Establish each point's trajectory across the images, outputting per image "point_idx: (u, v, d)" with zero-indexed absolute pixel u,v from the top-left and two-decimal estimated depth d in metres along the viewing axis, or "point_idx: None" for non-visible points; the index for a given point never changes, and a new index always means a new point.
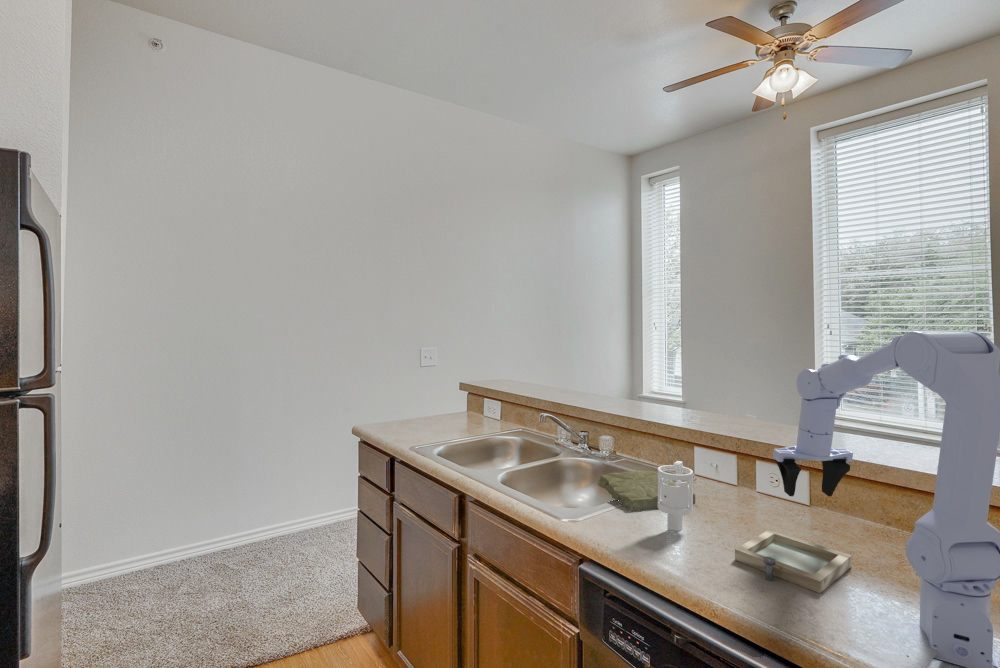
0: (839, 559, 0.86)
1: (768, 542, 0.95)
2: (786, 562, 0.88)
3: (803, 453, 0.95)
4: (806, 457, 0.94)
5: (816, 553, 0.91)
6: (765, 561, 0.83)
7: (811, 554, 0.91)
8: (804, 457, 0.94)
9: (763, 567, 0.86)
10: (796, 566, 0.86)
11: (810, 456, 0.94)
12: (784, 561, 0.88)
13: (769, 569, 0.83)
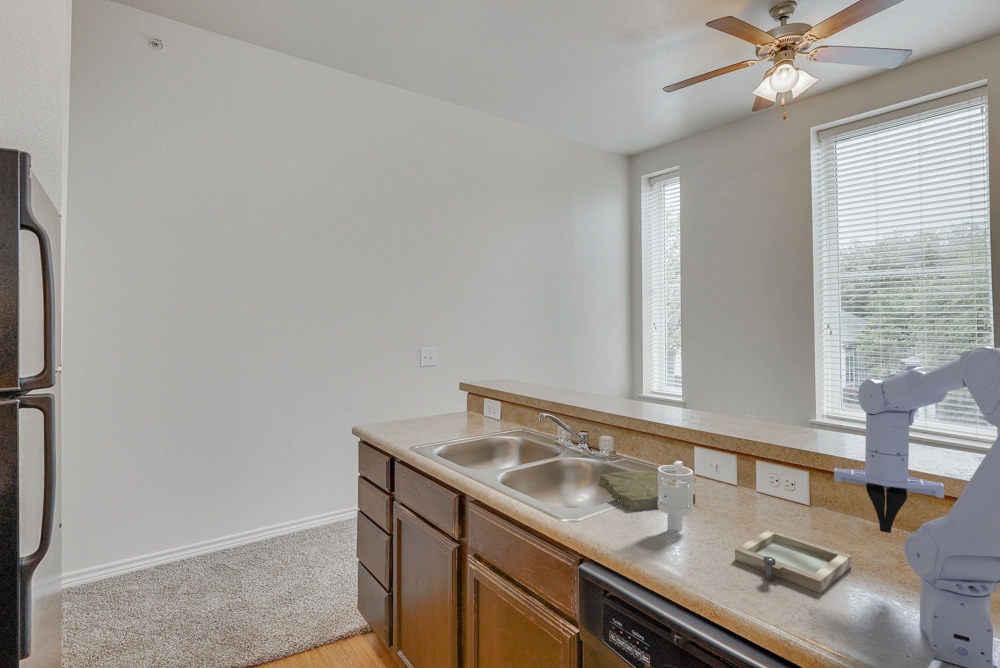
0: (839, 559, 0.86)
1: (768, 542, 0.95)
2: (786, 562, 0.88)
3: (866, 475, 0.83)
4: (866, 479, 0.82)
5: (816, 553, 0.91)
6: (765, 561, 0.83)
7: (811, 554, 0.91)
8: (864, 479, 0.83)
9: (763, 567, 0.86)
10: (796, 566, 0.86)
11: (871, 479, 0.82)
12: (784, 561, 0.88)
13: (769, 569, 0.83)
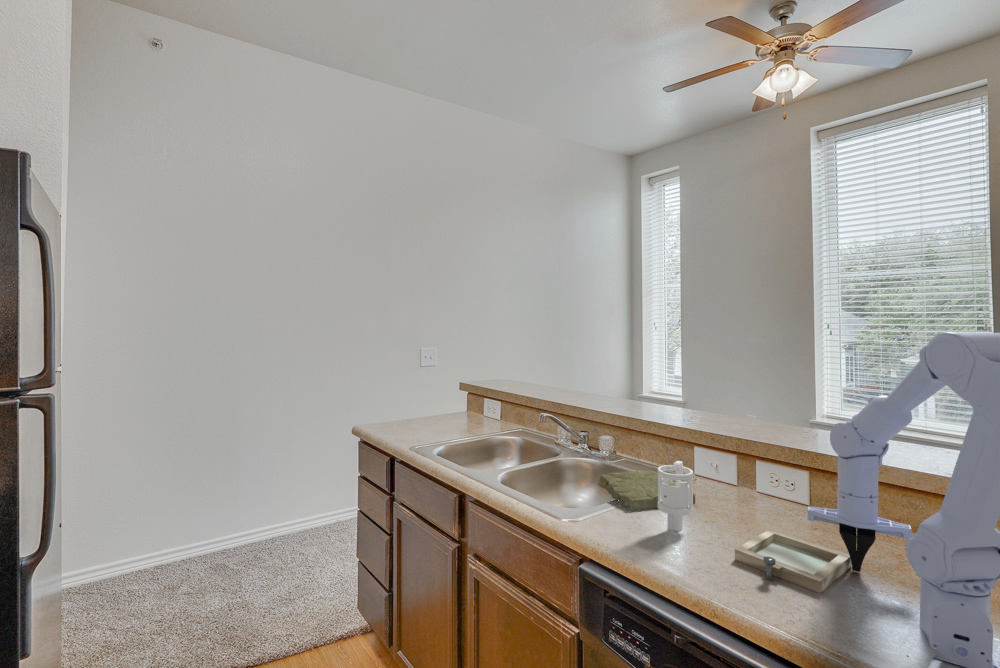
0: (839, 559, 0.86)
1: (768, 542, 0.95)
2: (786, 562, 0.88)
3: (838, 516, 0.86)
4: (838, 520, 0.85)
5: (816, 553, 0.91)
6: (765, 561, 0.83)
7: (811, 554, 0.91)
8: (835, 519, 0.85)
9: (763, 567, 0.86)
10: (796, 566, 0.86)
11: (842, 519, 0.84)
12: (784, 561, 0.88)
13: (769, 569, 0.83)
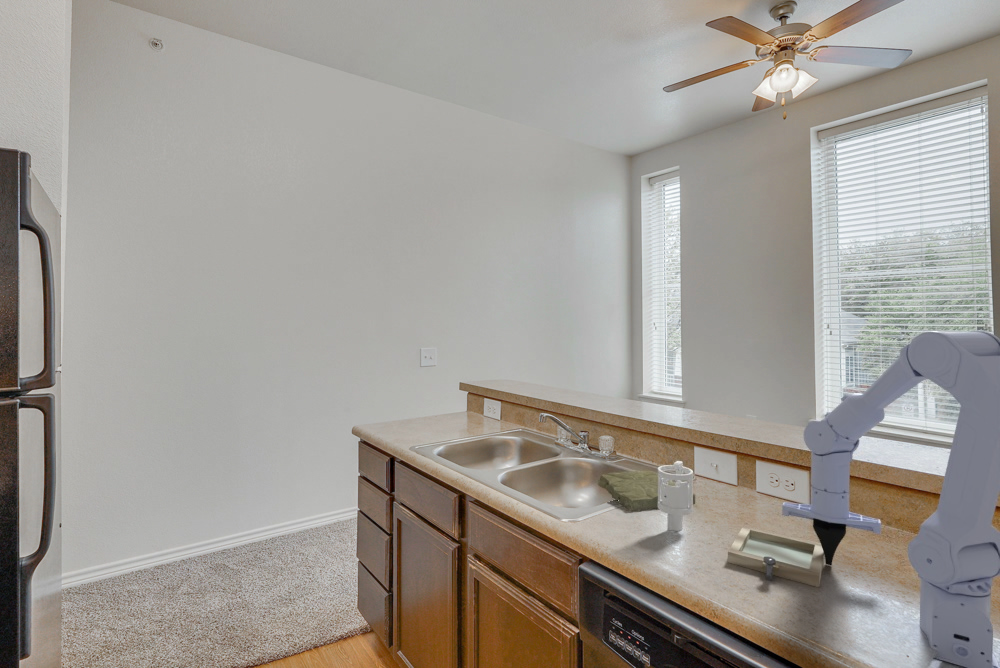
0: (818, 549, 0.90)
1: (747, 539, 0.96)
2: (774, 558, 0.89)
3: (811, 511, 0.88)
4: (811, 515, 0.87)
5: (792, 545, 0.94)
6: (765, 561, 0.83)
7: (788, 547, 0.94)
8: (809, 514, 0.87)
9: (759, 567, 0.86)
10: (784, 561, 0.88)
11: (815, 514, 0.87)
12: None
13: (769, 569, 0.83)
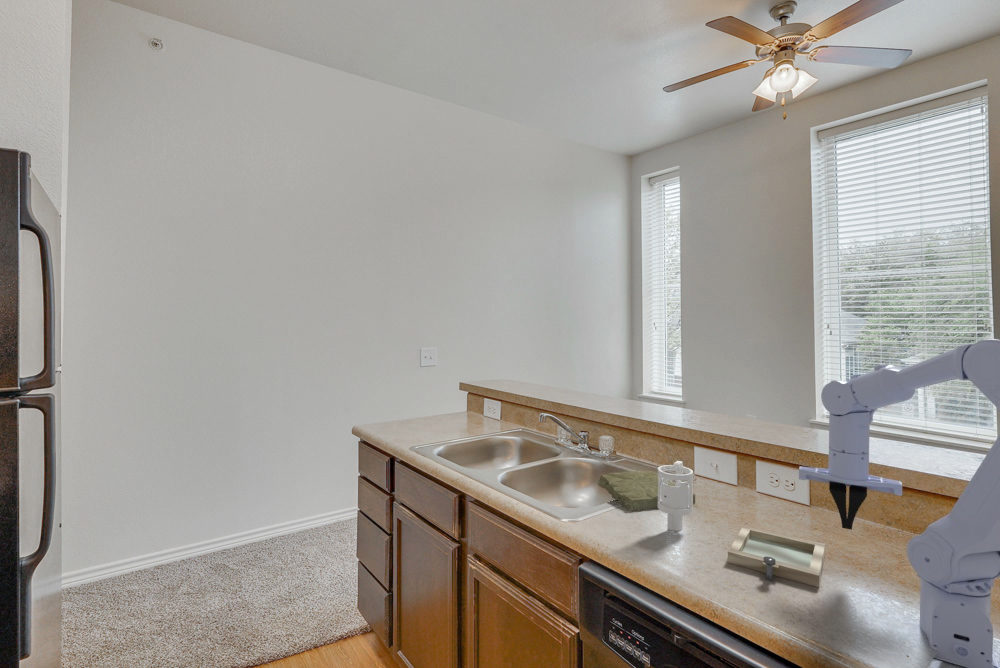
0: (818, 549, 0.90)
1: (747, 539, 0.96)
2: (774, 558, 0.89)
3: (829, 474, 0.85)
4: (829, 477, 0.85)
5: (792, 545, 0.94)
6: (765, 561, 0.83)
7: (788, 547, 0.94)
8: (826, 477, 0.85)
9: (759, 567, 0.86)
10: (784, 561, 0.88)
11: (833, 477, 0.84)
12: None
13: (769, 569, 0.83)
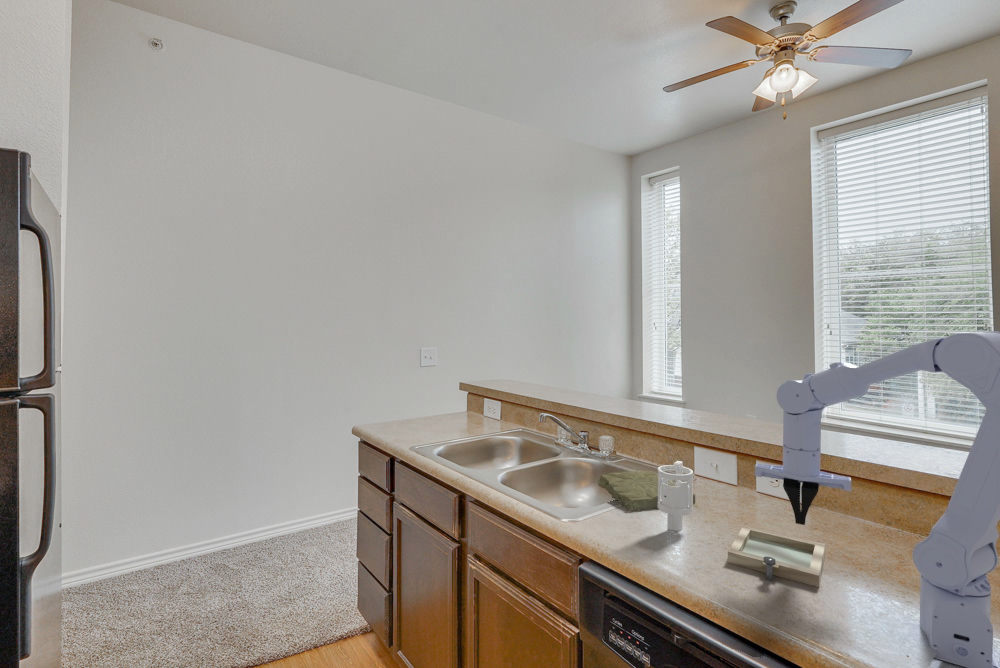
0: (818, 549, 0.90)
1: (747, 539, 0.96)
2: (774, 558, 0.89)
3: (783, 470, 0.88)
4: (782, 474, 0.87)
5: (792, 545, 0.94)
6: (765, 561, 0.83)
7: (788, 547, 0.94)
8: (780, 474, 0.87)
9: (759, 567, 0.86)
10: (784, 561, 0.88)
11: (786, 473, 0.86)
12: None
13: (769, 569, 0.83)
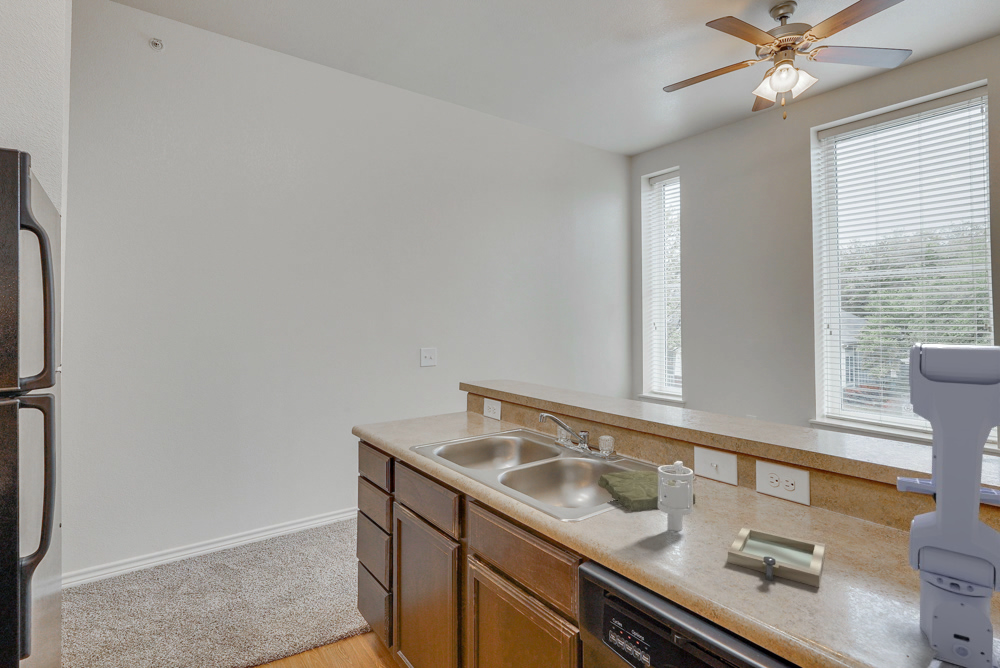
0: (818, 549, 0.90)
1: (747, 539, 0.96)
2: (774, 558, 0.89)
3: (934, 485, 0.80)
4: (935, 489, 0.79)
5: (792, 545, 0.94)
6: (765, 561, 0.83)
7: (788, 547, 0.94)
8: (932, 489, 0.79)
9: (759, 567, 0.86)
10: (784, 561, 0.88)
11: None
12: None
13: (769, 569, 0.83)
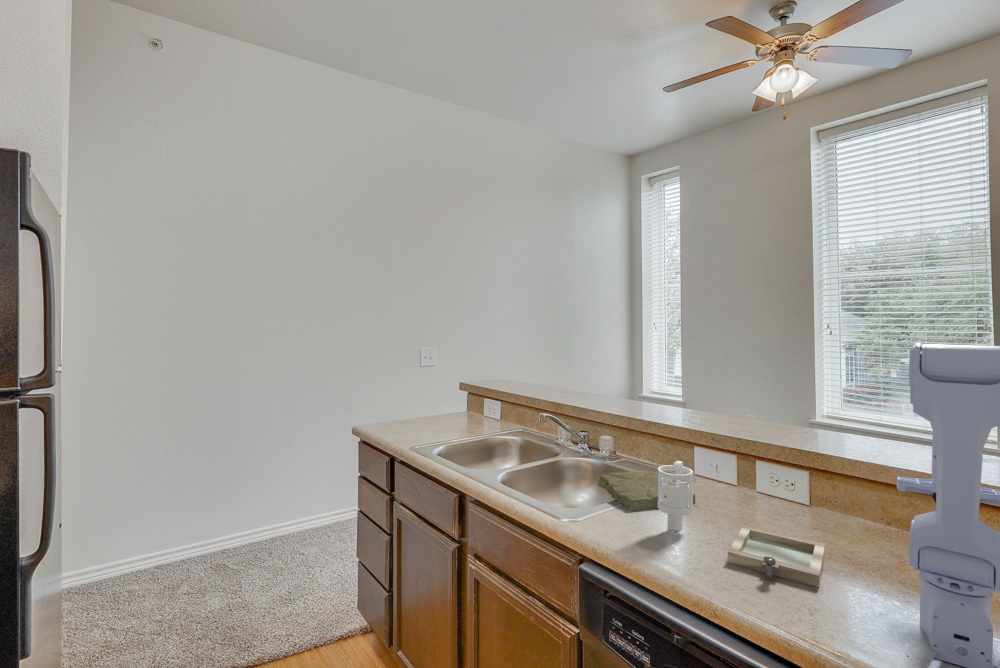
0: (818, 549, 0.90)
1: (747, 539, 0.96)
2: (774, 558, 0.89)
3: (934, 485, 0.80)
4: (935, 489, 0.79)
5: (792, 545, 0.94)
6: (765, 561, 0.83)
7: (788, 547, 0.94)
8: (932, 489, 0.79)
9: (759, 567, 0.86)
10: (784, 561, 0.88)
11: None
12: None
13: (769, 569, 0.83)
